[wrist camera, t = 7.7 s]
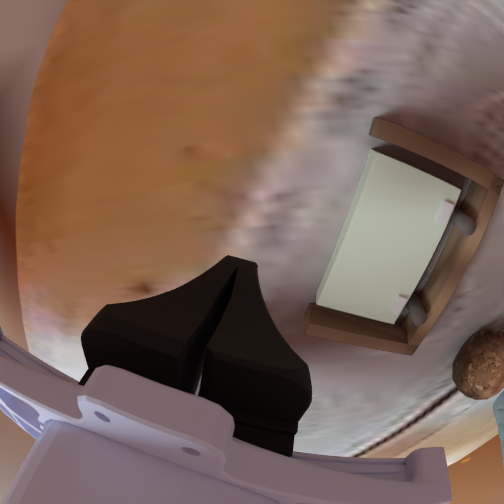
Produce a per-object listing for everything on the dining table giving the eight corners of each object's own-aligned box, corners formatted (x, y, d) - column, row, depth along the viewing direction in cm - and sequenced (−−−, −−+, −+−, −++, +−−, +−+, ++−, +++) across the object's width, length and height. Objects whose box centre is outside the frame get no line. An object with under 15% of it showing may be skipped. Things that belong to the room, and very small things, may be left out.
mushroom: (521, 367, 20) (520, 400, 16) (464, 383, 26) (454, 415, 22) (510, 307, 22) (512, 333, 17) (450, 328, 27) (439, 356, 23)
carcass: (405, 336, 24) (412, 359, 22) (305, 314, 25) (304, 338, 22) (487, 171, 16) (508, 182, 14) (373, 117, 17) (385, 119, 14)
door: (388, 309, 24) (394, 326, 22) (315, 289, 24) (316, 306, 22) (449, 182, 18) (463, 191, 16) (369, 147, 18) (376, 152, 16)
